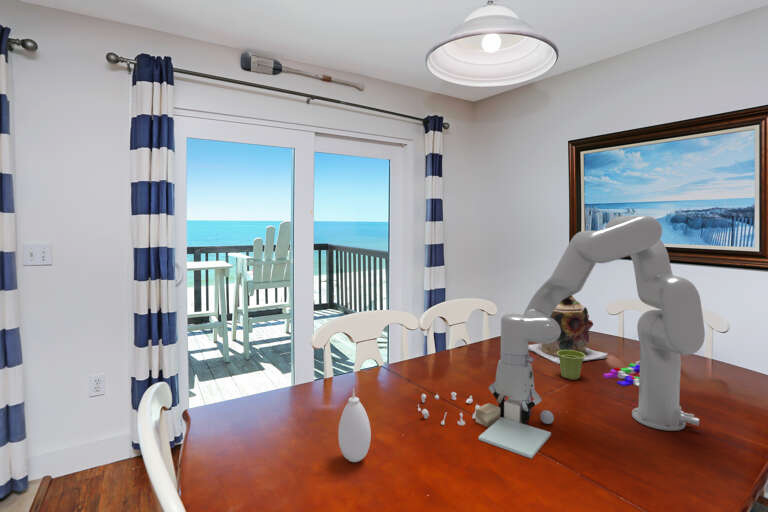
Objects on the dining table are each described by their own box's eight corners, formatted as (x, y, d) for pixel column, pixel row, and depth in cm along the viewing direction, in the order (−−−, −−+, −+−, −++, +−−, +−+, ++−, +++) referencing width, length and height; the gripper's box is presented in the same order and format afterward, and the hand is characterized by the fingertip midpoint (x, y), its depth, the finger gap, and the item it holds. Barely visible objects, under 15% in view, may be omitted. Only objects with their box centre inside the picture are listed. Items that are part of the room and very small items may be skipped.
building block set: (640, 395, 134) (640, 382, 133) (593, 374, 153) (593, 362, 153) (698, 386, 140) (698, 374, 140) (645, 367, 160) (646, 355, 160)
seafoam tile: (550, 435, 109) (550, 432, 109) (531, 458, 98) (531, 455, 98) (501, 419, 118) (501, 417, 118) (478, 439, 107) (478, 436, 107)
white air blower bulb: (371, 450, 103) (369, 381, 101) (371, 469, 95) (369, 394, 93) (340, 451, 102) (338, 382, 101) (337, 470, 95) (335, 395, 93)
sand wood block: (500, 420, 117) (500, 407, 117) (487, 427, 114) (487, 413, 113) (488, 415, 120) (488, 402, 120) (475, 422, 117) (475, 408, 116)
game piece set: (431, 432, 112) (431, 418, 112) (407, 402, 131) (407, 390, 131) (494, 421, 117) (494, 408, 117) (462, 394, 136) (462, 383, 136)
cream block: (525, 419, 118) (525, 400, 118) (519, 425, 115) (519, 406, 114) (510, 414, 121) (510, 396, 120) (504, 420, 117) (504, 401, 117)
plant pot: (589, 381, 145) (590, 357, 144) (562, 381, 145) (563, 358, 144) (577, 372, 154) (578, 349, 153) (552, 372, 154) (552, 350, 154)
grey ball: (555, 422, 115) (555, 410, 115) (551, 427, 113) (551, 415, 112) (542, 419, 118) (542, 407, 117) (538, 423, 115) (538, 411, 115)
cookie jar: (522, 348, 185) (523, 278, 182) (566, 343, 192) (567, 275, 190) (561, 366, 161) (562, 286, 159) (610, 359, 168) (612, 282, 166)
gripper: (549, 360, 113) (548, 423, 114) (491, 349, 124) (491, 406, 126) (540, 367, 107) (539, 433, 109) (480, 355, 118) (480, 415, 120)
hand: (513, 418), depth 117 cm, fingers open, 5 cm apart
